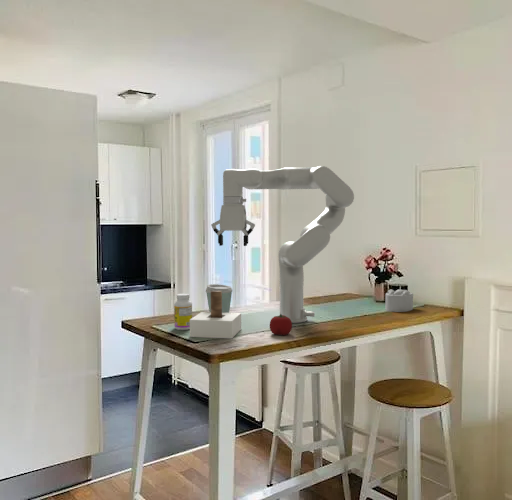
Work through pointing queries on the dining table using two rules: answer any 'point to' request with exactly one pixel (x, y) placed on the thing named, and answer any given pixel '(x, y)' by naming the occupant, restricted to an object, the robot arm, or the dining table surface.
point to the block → (215, 325)
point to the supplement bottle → (182, 312)
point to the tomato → (280, 325)
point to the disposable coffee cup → (225, 296)
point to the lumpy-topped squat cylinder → (399, 301)
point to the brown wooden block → (216, 304)
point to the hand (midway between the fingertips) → (233, 245)
